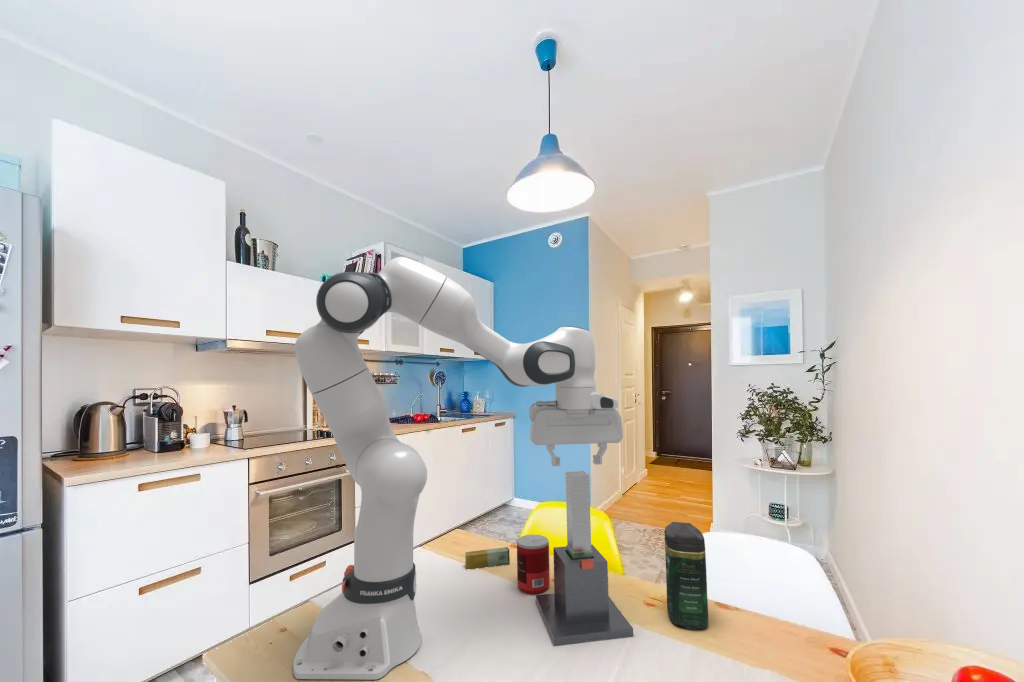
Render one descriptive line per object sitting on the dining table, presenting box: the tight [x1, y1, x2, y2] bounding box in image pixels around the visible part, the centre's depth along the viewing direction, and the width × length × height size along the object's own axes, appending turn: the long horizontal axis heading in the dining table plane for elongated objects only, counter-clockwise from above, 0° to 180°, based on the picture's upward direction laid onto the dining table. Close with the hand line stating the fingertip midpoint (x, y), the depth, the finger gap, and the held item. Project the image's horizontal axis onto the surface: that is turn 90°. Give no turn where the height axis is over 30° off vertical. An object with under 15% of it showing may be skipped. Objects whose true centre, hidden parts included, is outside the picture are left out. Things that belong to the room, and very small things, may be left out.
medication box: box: [464, 546, 511, 570], centre depth 116 cm, size 12×3×4 cm, turn 104°
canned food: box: [516, 534, 551, 595], centre depth 104 cm, size 8×8×11 cm
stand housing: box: [535, 543, 634, 647], centre depth 91 cm, size 16×16×14 cm
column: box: [565, 470, 592, 560], centre depth 92 cm, size 4×4×22 cm
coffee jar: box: [664, 521, 709, 630], centre depth 90 cm, size 10×8×19 cm
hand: (576, 464), depth 93 cm, fingers open, 8 cm apart
